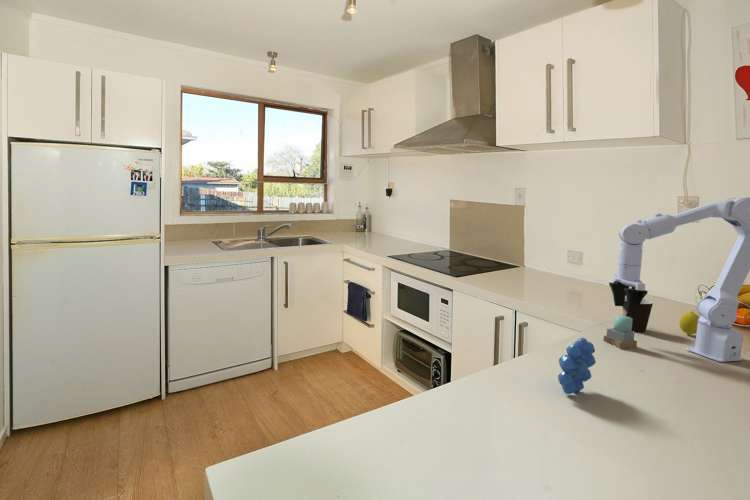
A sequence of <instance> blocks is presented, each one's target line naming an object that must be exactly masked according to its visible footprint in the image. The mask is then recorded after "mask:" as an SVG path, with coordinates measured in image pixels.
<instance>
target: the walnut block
mask: <svg viewBox="0 0 750 500" xmlns="http://www.w3.org/2000/svg"><path fill="white" fill-rule="evenodd" d="M603 341H605V342H607V343H609V344H611V345H610V346H612V345H614V346H616V347H618V348H625V349H632V348H631V347H636V348H637V345H638V341H637V340H632V341H627V342H620V341H617V340H614V339H611V338H608V337H607V335H603ZM603 341H602V342H603ZM605 342H604V343H605ZM607 343H606V344H607ZM609 344H608V345H609ZM614 346H613V347H614ZM616 347H615V348H616ZM618 348H617V349H618Z"/></svg>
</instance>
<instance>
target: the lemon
mask: <svg viewBox="0 0 750 500" xmlns="http://www.w3.org/2000/svg"><path fill="white" fill-rule="evenodd" d="M699 318H700V315H698V314H697V313H694V311H687V312H684V313H683V314H682V315H681V317H680V319H679V322H678V323H679V324H678V325H679V328H680V330H681V331H682V332H683V333H685V334H686V335H687V336H691V335H694V334H697V325H698V319H699Z"/></svg>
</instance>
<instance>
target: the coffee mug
mask: <svg viewBox="0 0 750 500" xmlns="http://www.w3.org/2000/svg"><path fill="white" fill-rule="evenodd" d="M653 304H654V302H653V301H651V300H648V299H644V298H643V299H642V301H641V303H640V305H639V308H638V310H637V312H636V313H629V312H628V311H627V297H625V301H624V305H623V306H622V316H627V317H630V318H632V319H633V320H632V330H631V331H634V333H638V332H640V334H642V333H646V332H647V328H648V324H649V320H650V316H651V312H652V309H653Z"/></svg>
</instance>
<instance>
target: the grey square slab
mask: <svg viewBox="0 0 750 500" xmlns="http://www.w3.org/2000/svg"><path fill="white" fill-rule="evenodd" d="M606 336H607V337H608V338H611V339H614V340H617V341H620V342H627V341H632V340H634V339H635V332H633V331H631V333H621V332H617V331H615V330H614V327H611V328H607V329H606Z"/></svg>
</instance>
